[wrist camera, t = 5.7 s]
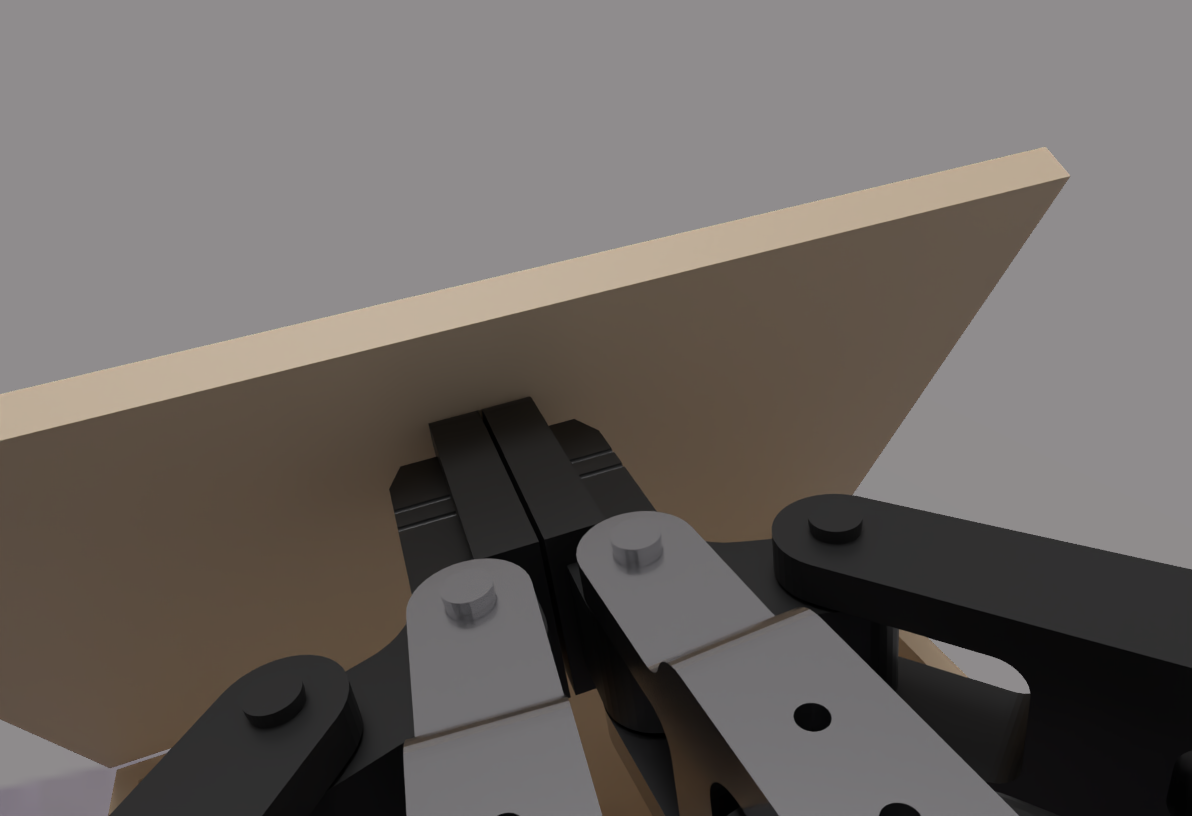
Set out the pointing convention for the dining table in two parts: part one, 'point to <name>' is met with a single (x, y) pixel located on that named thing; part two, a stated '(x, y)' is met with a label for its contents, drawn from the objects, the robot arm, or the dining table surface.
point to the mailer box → (592, 741)
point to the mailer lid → (447, 389)
